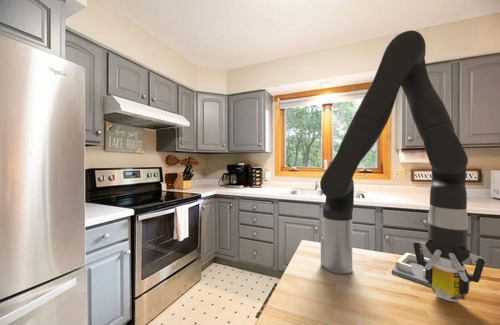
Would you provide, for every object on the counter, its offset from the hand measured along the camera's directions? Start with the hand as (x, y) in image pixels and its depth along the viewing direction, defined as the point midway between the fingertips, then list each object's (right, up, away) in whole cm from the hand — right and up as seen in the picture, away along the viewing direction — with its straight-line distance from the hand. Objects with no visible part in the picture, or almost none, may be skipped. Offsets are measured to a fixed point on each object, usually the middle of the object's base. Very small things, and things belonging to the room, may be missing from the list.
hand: (446, 287), depth 56 cm
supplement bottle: (0, -2, 0) cm, 2 cm away
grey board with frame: (+5, -3, +11) cm, 13 cm away
